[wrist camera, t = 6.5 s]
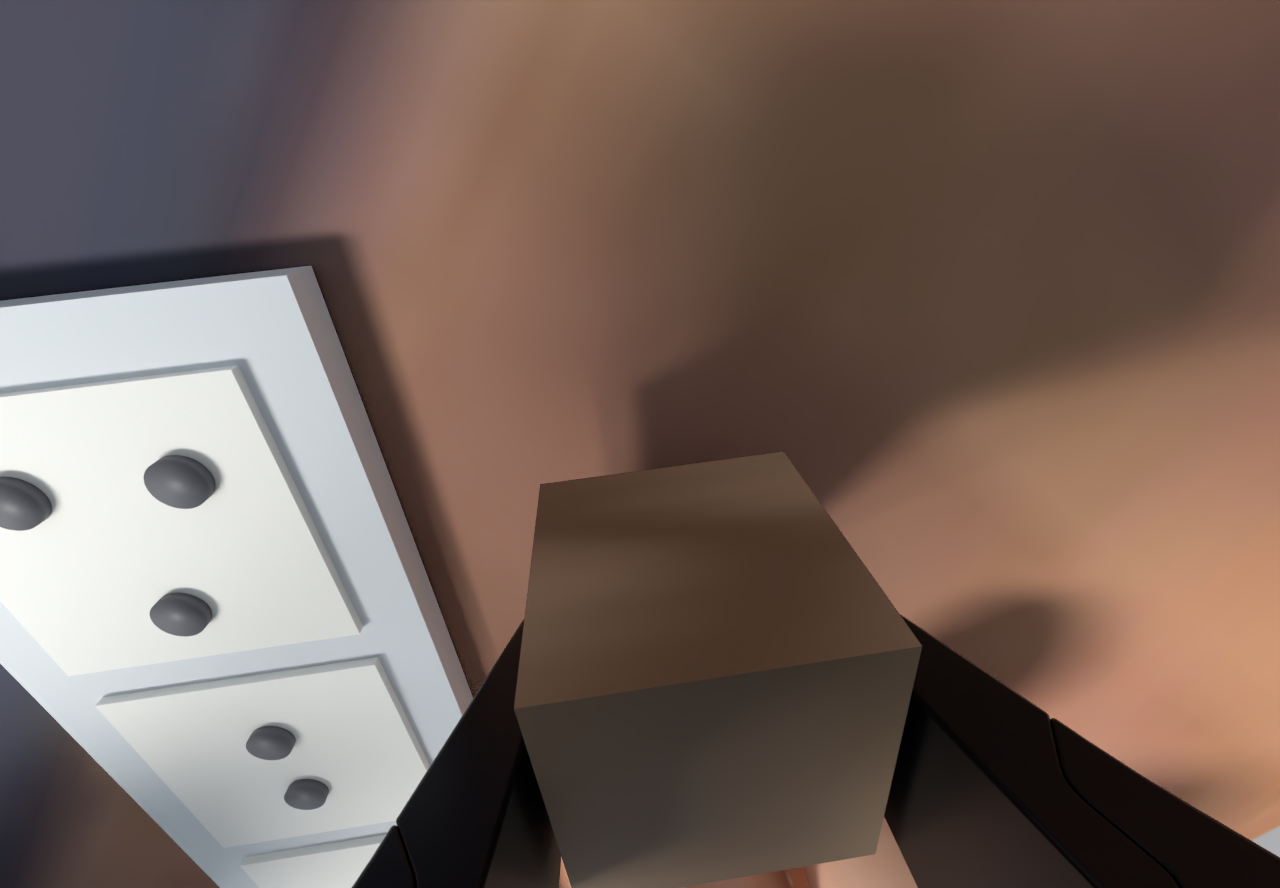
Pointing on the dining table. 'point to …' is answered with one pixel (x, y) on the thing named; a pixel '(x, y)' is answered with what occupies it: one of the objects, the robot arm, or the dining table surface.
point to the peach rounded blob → (865, 868)
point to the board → (218, 571)
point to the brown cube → (707, 676)
